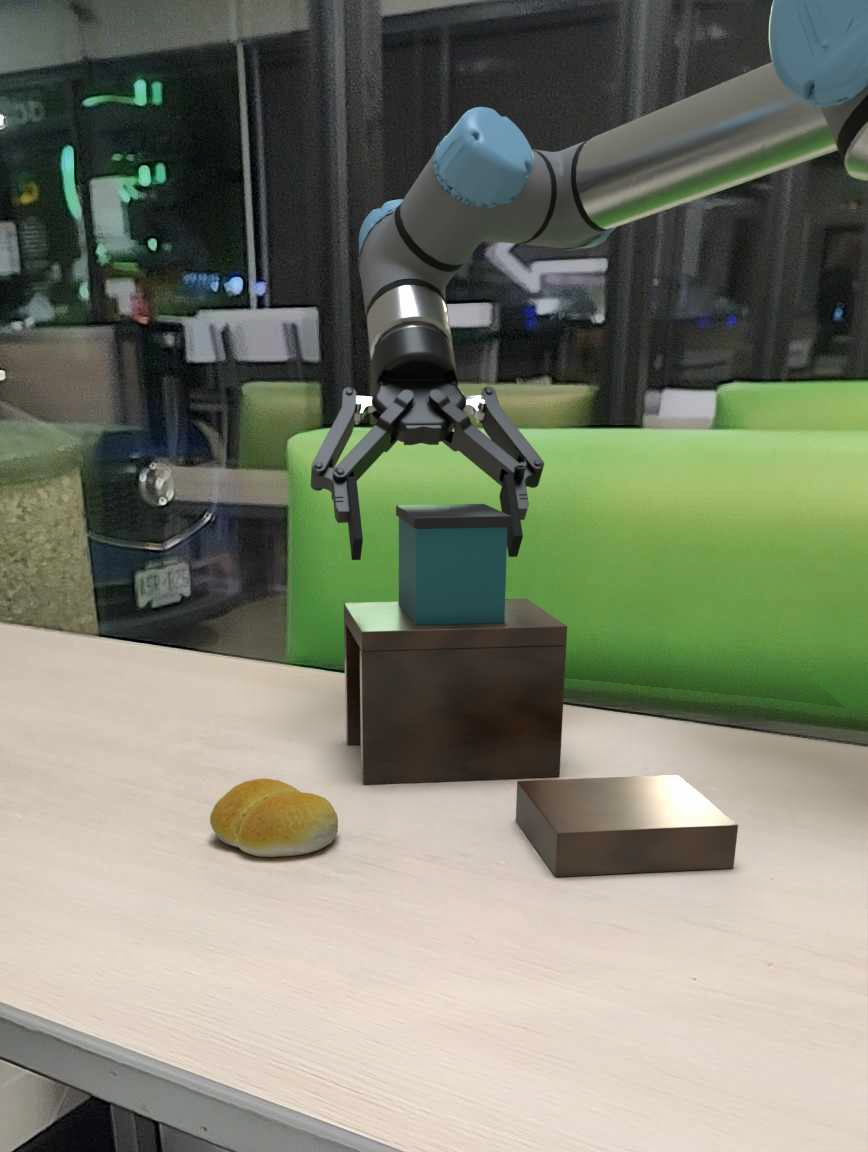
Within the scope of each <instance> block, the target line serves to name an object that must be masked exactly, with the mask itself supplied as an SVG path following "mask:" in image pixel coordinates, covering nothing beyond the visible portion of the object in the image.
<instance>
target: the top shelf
mask: <svg viewBox="0 0 868 1152" xmlns="http://www.w3.org/2000/svg"><path fill="white" fill-rule="evenodd" d="M567 641H568V626H567V625H566V624H565V623H563V622H562V621H560V620H559V619H558V618H556V617H555V616H553V615H551V614H550V613H549V612H547V611H546V610H544V609H543V608H541V607H540V606H539V605H538V604H535V602H533V601H532V600H530V599H528V598H505V620H504V623H482V624H446V625H416V624H415V623H414V622H413V621H412V620H411V619H410V617H409V616H408V615H407V614H406V613H405V612H404V610H403V609H402V608H401V607H400V606H399V601H370V602H365V601H364V602H344V603H343V642H344V644H343V646H344V648H343V649H344V652H343V653H344V654H343V655H344V707H345V708H344V712H345V714H344V715H345V742H346V744H347V745H349V746H350V745H360V780H361V782H362V784H363V785H382V784H383V785H384V784H406V783H407V784H409V783H412V784H413V783H431V782H432V783H433V782H434V783H435V782H436V783H437V782H457V781H458V782H461V781H483V780H484V781H485V780H508V779H511V780H513V779H535V778H558V777H560V775H561V757H562V738H563V737H562V735H563V719H564V717H563V716H564V698H565V697H564V696H565V678H566V677H565V676H566V658H567Z"/></svg>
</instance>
